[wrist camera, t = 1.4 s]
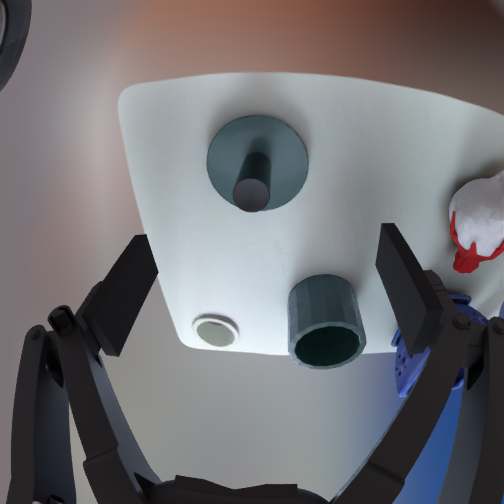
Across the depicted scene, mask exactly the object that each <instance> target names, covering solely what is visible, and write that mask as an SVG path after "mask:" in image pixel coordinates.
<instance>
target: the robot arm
mask: <svg viewBox="0 0 504 504" xmlns="http://www.w3.org/2000/svg"><path fill="white" fill-rule="evenodd" d="M8 20H9V15H8V8H7V5H6V3H5V1H4V0H0V55H1V52H2V49H3V46H4V43H5V39H6V35H7V30H8ZM375 265H376V268H377V270H378V272H379V275H380V277H381V280H382V282H383V285H384V287H385V290H386V293H387V295H388V298H389V300H390V303H391V306H392V309H393V311H394V314H395V317H396V320H397V322H398V325H399V328H400V331H401V334H402V337H403V340H404V343H405V346H406V349H407V352H408V355H415V354H421V353H424V351H425V349H426V347H427V345H428V347H429V349H430V353H429V355H428V357H427V359H426V361H425V363H424V365H423V367H422V369H421V371H420V373H419V375H418V377H417V379H416V381H415V383H414V384H413V386H412V388H411V390H410V392H409V393H408V395H407V397H406V399H405V400H404V402H403V404H402V405H401V407H400V409H399V410H398V412H397V414H396V415H395V417H394V419H393V420H392V422H391V423H390V425H389V426H388V428H387V429H386V431H385V432H384V434H383V435H382V437H381V438H380V440H379V441H378V442H377V444H376V445H375V447H374V448H373V450H372V451H371V452H370V454H369V455H368V456H367V458H366V459H365V461H364V462H363V463H362V464H361V466H360V467H359V468H358V470H357V471H356V472H355V473H354V474H353V476H352V477H351V478H350V479H349V481H348V482H347V483H346V484H345V485H344V486H343V487H342V488H341V489H340V491H339V492H338V493H337V494H336V495H335V496H334V497H333V498H332V500H331V501H330V502H328V501H327V500H325V499H324V498H322V497H321V496H319V495H317V494H315V493H313V492H310V491H307V490H304V489H299V488H297V484H265V485H259V486H254V487H248V488H241V489H230V488H227V487H224V486H221V485H218V484H215V483H213V482H210V481H207V480H204V479H198V478H192V477H185V476H179V475H176V477H175V480H170V481H165V482H161V480H160V479H159V477H158V476H157V475H156V474H155V473H154V472H153V470H152V469H151V468H150V466H149V464H148V463H147V461H146V459H145V457H144V455H143V453H142V452H141V449H140V448H139V446H138V444H137V442H136V440H135V438H134V436H133V434H132V431H131V429H130V427H129V425H128V423H127V421H126V419H125V416H124V414H123V412H122V410H121V407H120V405H119V403H118V400H117V398H116V395H115V393H114V391H113V388H112V386H111V383H110V380H109V378H108V375H107V372H106V369H105V367H104V364H103V361H102V358H101V356H100V355H99V351H100V349H101V348H102V349H103V351H104V352H105V354H106V355H109V356H116V357H119V355H120V353H121V351H122V349H123V346H124V344H125V342H126V339H127V337H128V335H129V333H130V331H131V328H132V326H133V324H134V322H135V320H136V318H137V316H138V313H139V311H140V309H141V307H142V305H143V303H144V301H145V299H146V297H147V295H148V293H149V291H150V289H151V287H152V285H153V283H154V281H155V279H156V277H157V275H158V273H159V272H158V269H157V266H156V263H155V260H154V257H153V254H152V251H151V248H150V244H149V241H148V238H147V235H146V234H144V235H135V236H134V237H133V239H132V240H131V242H130V243H129V244H128V246H127V247H126V248H125V250H124V251H123V253H122V254H121V255H120V257H119V258H118V260H117V261H116V263H115V264H114V265H113V267H112V268H111V270H110V271H109V273H108V274H107V276H106V277H105V279H104V280H103V281H100V282H98V283H97V284H96V285H95V286H94V287H93V288H92V289H91V291H90V293H89V294H88V296H87V297H86V299H85V301H84V302H83V303H82V305H81V306H80V308H79V309H78V311H77V312H76V314H75V316H74V314H73V313H72V311H71V309H70V307H69V306H67V305H62V306H59V307H57V308H55V309H54V310H53V311H52V312H51V313H50V314H49V316H48V322H49V324H50V325H51V326H52V328H53V331H48V332H47V331H46V330H45V328H44V326H42V325H36V326H34V327H32V328H31V329H30V330H29V331H28V332H27V334H26V336H25V341H24V345H23V350H22V355H21V360H20V366H19V371H18V377H17V384H16V391H15V399H14V408H13V419H12V435H11V481H10V486H9V491H8V496H7V502H6V504H76V490H75V482H74V475H73V467H72V457H71V445H70V430H69V402H70V406H71V410H72V414H73V417H74V421H75V424H76V427H77V431H78V434H79V437H80V440H81V443H82V446H83V449H84V452H85V454H86V460H85V461H84V462H83V468H84V471H85V474H86V476H87V479H88V481H89V484H90V486H91V489H92V491H93V493H94V496H95V498H96V500H97V502H98V504H392V503H393V502H394V500H395V499H396V497H397V496H398V494H399V493H400V491H401V490H402V488H403V486H404V483H405V478H406V476H407V475H408V473H409V472H410V470H411V468H412V467H413V465H414V464H415V462H416V460H417V458H418V457H419V455H420V453H421V452H422V450H423V448H424V446H425V444H426V442H427V441H428V439H429V437H430V435H431V433H432V431H433V429H434V427H435V425H436V423H437V421H438V419H439V417H440V415H441V413H442V411H443V409H444V406H445V404H446V402H447V400H448V398H449V395H450V393H451V390H452V388H453V386H454V383H455V381H456V378H457V375H458V373H459V370H460V367H461V368H465V370H464V381H463V390H462V398H461V406H460V412H459V419H458V424H457V430H456V435H455V439H454V444H453V449H452V452H451V457H450V461H449V464H448V468H447V472H446V475H445V479H444V482H443V485H442V488H441V491H440V495H439V498H438V500H437V503H436V504H501V501H502V497H503V493H504V319H503V318H500V317H492V318H491V319H490V320H489V321H488V323H487V325H486V324H479V323H473V322H472V319H471V318H470V317H469V316H468V315H467V314H465V313H464V312H460V311H458V309H457V307H456V306H455V304H454V302H453V300H452V298H451V297H450V295H449V293H448V291H446V290H447V289H446V288H445V286H444V285H443V283H442V281H441V279H440V277H439V276H438V275H437V274H436V273H434V272H433V271H432V270H423V269H422V267H421V266H420V264H419V262H418V261H417V259H416V257H415V255H414V254H413V252H412V251H411V249H410V247H409V246H408V244H407V242H406V241H405V239H404V238H403V236H402V234H401V233H400V231H399V230H398V228H397V227H396V225H395V224H394V223H382V224H381V231H380V238H379V245H378V252H377V258H376V264H375Z"/></svg>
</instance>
